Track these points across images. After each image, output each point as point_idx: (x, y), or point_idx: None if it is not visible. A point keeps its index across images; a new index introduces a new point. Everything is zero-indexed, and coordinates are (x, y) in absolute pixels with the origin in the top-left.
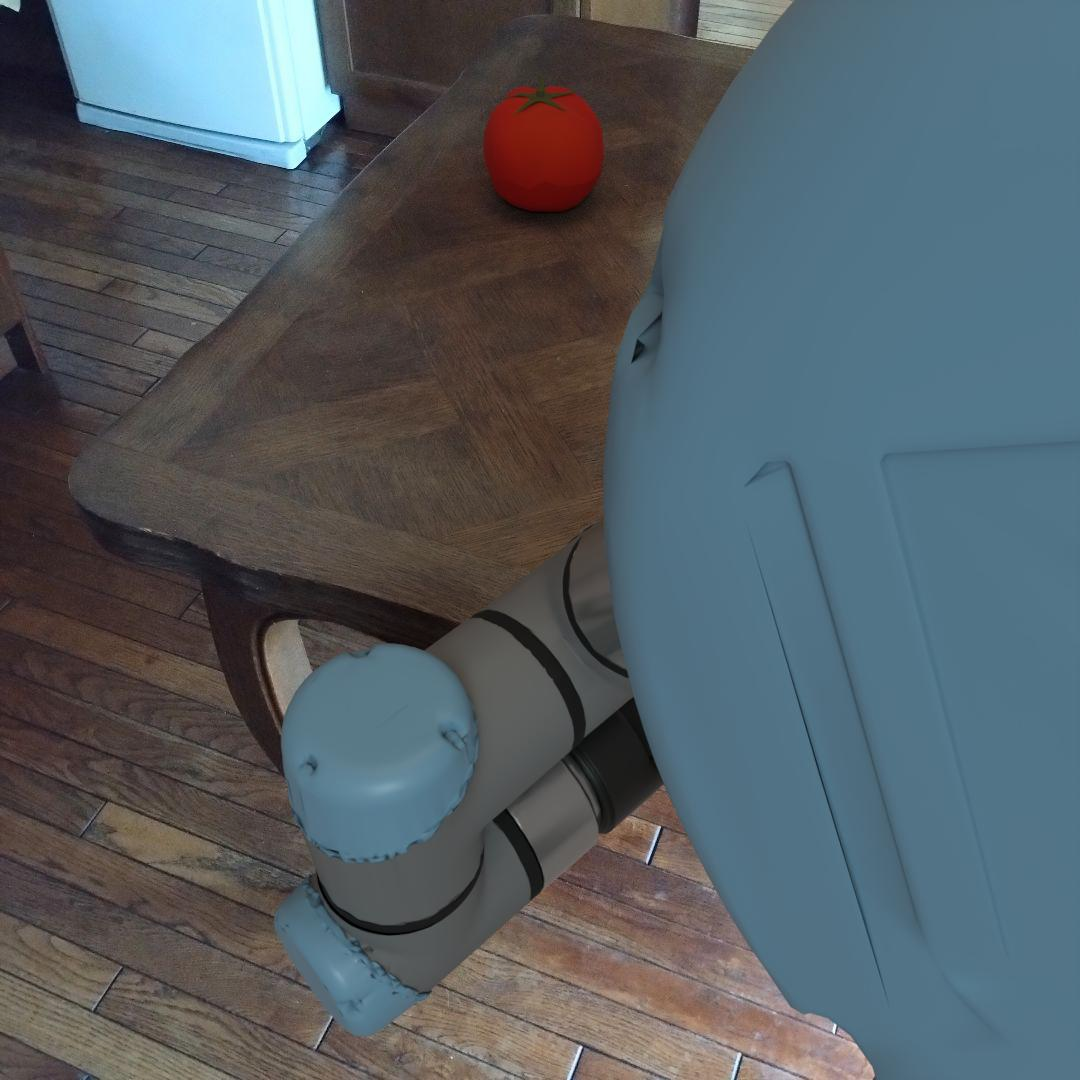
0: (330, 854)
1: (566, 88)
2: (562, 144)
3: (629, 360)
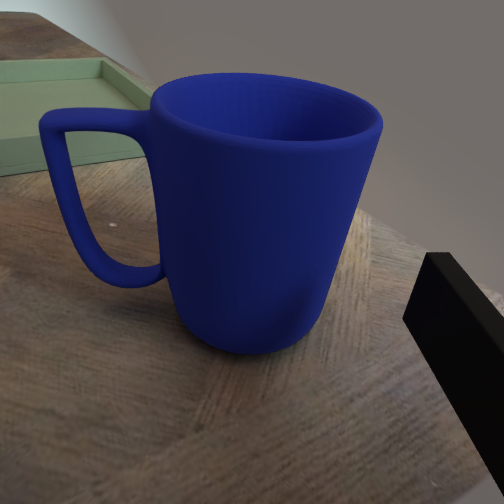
0: None
1: None
2: None
3: None
